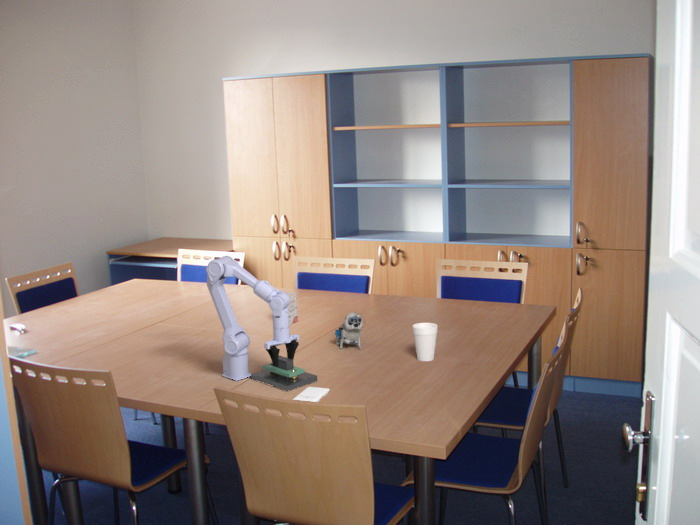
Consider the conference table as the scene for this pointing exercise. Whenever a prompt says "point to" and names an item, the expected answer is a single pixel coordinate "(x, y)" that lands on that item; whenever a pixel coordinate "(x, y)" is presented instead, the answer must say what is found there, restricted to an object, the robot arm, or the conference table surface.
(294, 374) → the board
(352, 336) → the robotic toy
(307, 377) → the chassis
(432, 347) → the foam cup
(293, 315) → the ink cartridge box
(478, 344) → the conference table surface
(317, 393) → the external hard drive
